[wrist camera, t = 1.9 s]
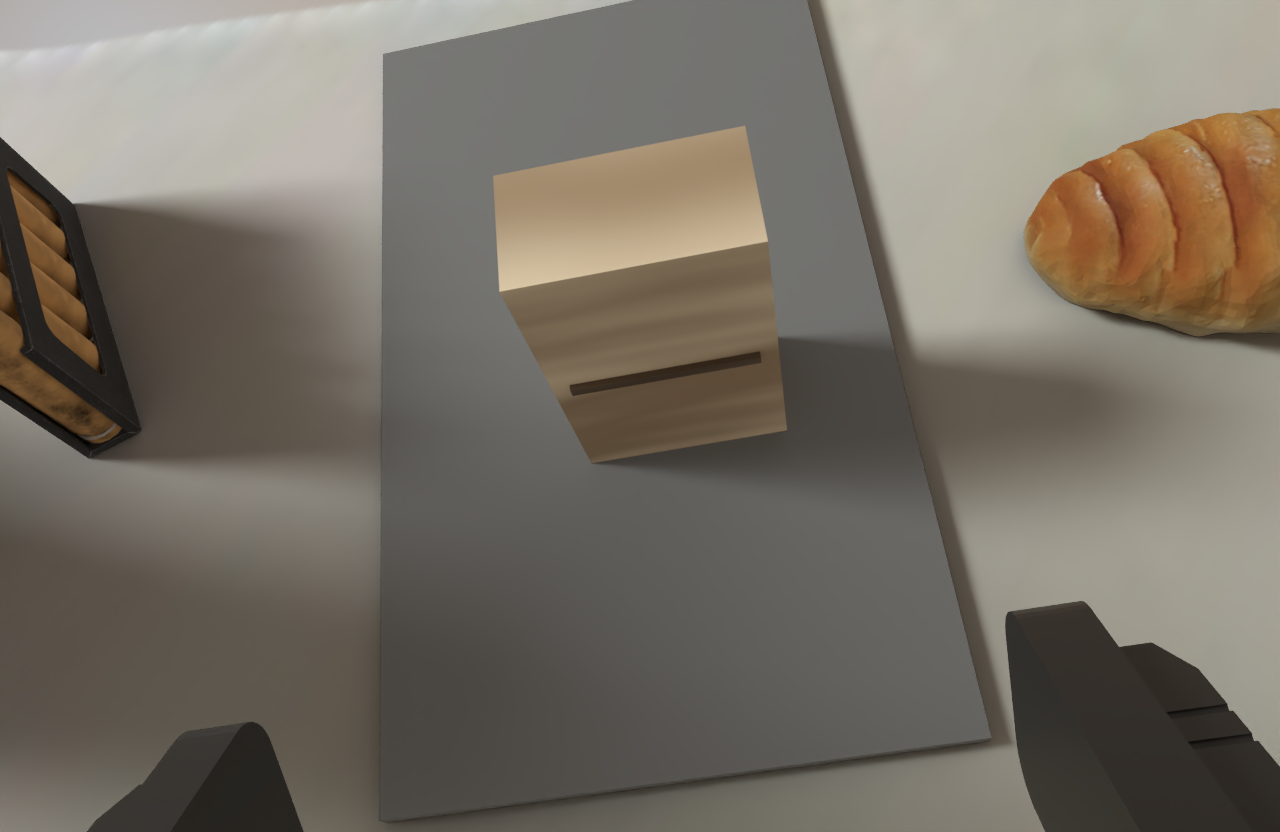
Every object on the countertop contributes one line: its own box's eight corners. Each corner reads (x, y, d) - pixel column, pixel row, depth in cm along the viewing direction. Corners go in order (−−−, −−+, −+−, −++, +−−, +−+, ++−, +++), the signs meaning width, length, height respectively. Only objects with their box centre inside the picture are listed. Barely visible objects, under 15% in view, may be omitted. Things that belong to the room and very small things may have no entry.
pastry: (1041, 372, 29) (1068, 297, 26) (1002, 178, 32) (1021, 89, 29) (1412, 340, 28) (1491, 257, 24) (1334, 141, 31) (1396, 43, 27)
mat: (387, 822, 26) (379, 820, 26) (388, 63, 38) (383, 54, 38) (988, 741, 25) (991, 737, 25) (798, -24, 37) (798, -35, 36)
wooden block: (788, 435, 29) (769, 247, 21) (591, 468, 29) (499, 297, 21) (768, 332, 30) (744, 120, 22) (582, 365, 31) (492, 170, 23)
